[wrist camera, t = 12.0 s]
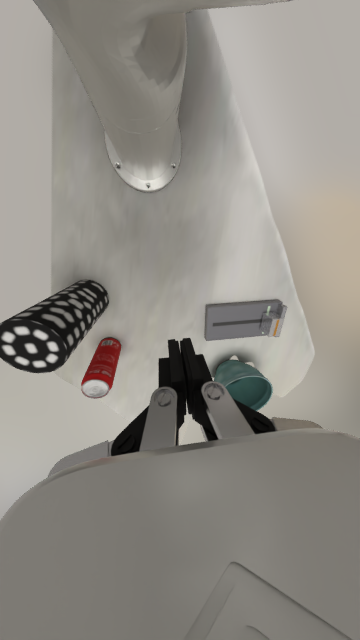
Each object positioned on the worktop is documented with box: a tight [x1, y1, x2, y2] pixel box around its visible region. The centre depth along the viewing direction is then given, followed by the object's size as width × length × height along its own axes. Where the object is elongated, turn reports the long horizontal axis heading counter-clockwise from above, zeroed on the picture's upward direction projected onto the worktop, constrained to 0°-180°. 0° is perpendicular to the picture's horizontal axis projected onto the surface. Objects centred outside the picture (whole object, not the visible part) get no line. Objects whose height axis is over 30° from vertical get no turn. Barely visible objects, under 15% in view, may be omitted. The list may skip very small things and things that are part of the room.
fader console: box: [205, 300, 287, 341], centre depth 44 cm, size 10×20×4 cm, turn 92°
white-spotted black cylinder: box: [0, 280, 109, 373], centre depth 29 cm, size 8×8×20 cm
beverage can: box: [81, 338, 121, 398], centre depth 38 cm, size 6×6×15 cm
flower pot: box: [214, 360, 273, 411], centre depth 49 cm, size 16×16×11 cm
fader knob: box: [260, 312, 284, 337], centre depth 42 cm, size 5×3×4 cm, turn 2°
